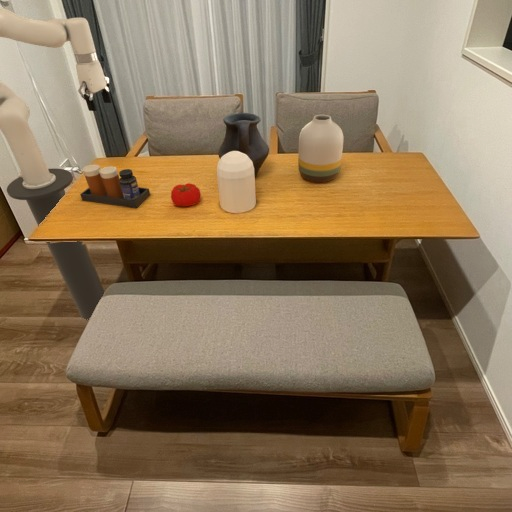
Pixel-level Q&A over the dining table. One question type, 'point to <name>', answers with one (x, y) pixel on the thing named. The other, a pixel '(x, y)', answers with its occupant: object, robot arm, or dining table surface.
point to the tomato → (185, 195)
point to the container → (236, 182)
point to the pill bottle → (129, 185)
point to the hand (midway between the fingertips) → (100, 106)
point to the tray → (115, 201)
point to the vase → (320, 149)
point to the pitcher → (244, 138)
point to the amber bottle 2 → (111, 182)
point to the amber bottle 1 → (94, 180)
